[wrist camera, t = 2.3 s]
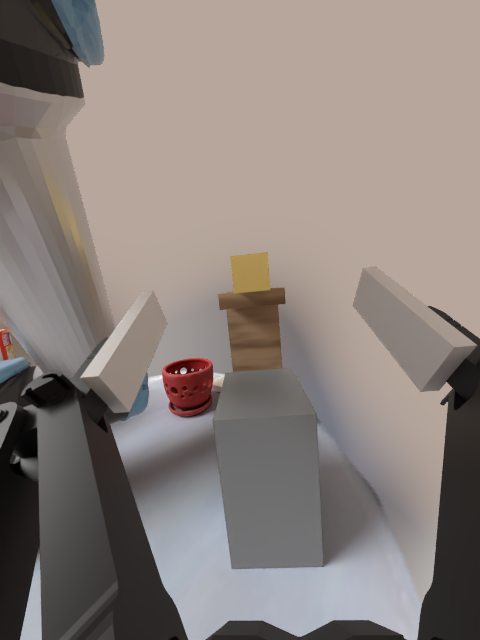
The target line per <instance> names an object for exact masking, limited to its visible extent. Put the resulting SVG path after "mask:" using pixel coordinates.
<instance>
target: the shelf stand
mask: <svg viewBox="0 0 480 640" xmlns="http://www.w3.org/2000/svg"><path fill="white" fill-rule="evenodd" d="M218 297H219V306H220V310H224V309H226V310H227V320H228V329H229V338H230V348H231V357H232V366H233V372H244V371H257V370H270V369H282V357H281V343H280V328H279V316H278V315H279V314H278V304H285V290H284V288H270V290H266V291H256V292H245V293H235V294H234V292H227V293H222V294H218Z"/></svg>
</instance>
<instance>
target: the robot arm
mask: <svg viewBox="0 0 480 640" xmlns="http://www.w3.org/2000/svg"><path fill="white" fill-rule="evenodd" d="M103 60H104V47H103V40H102V35H101V29H100V22H99V18H98V14H97V9H96V3H95V0H0V319H1V320H2V322H3V323H4V324H5V326H6V327H7V328H8V329H9V331H10V332H11V333H12V334H13V336H14V337H15V338H16V339H17V341H18V342H19V343H20V344H21V346H22V347H23V348H24V349H25V351H26V352H27V353H28V354H29V356H30V357H31V358H32V359H33V361H34V362H35V363H36V364H37V366H34V367H31V366H30V365H31V363H30V362H29V361H28V360H27V359H26V358H16V359H9V360H5V361H1V362H0V640H20V636H21V631H22V626H23V621H24V617H25V612H26V607H27V602H28V597H29V592H30V587H31V582H32V577H33V572H34V567H35V562H36V557H37V552H38V547H39V542H40V570H41V616H42V640H188V638H187V635H186V633H185V630H184V627H183V624H182V621H181V618H180V615H179V613H178V610H177V608H176V606H175V604H174V602H173V600H172V598H171V597H170V595H169V594H168V593H167V591H166V590H165V588H164V586H163V584H162V581H161V578H160V575H159V572H158V569H157V566H156V563H155V560H154V557H153V554H152V551H151V548H150V545H149V542H148V539H147V536H146V533H145V530H144V527H143V524H142V521H141V518H140V514H139V511H138V508H137V505H136V502H135V499H134V496H133V493H132V490H131V487H130V484H129V481H128V478H127V475H126V472H125V469H124V466H123V463H122V460H121V457H120V454H119V451H118V448H117V445H116V442H115V439H114V436H113V433H112V429H111V426H110V424H112V423H115V422H118V421H124V420H127V419H128V418H130V417H132V416H134V415H137V414H139V413H141V412H143V411H144V410H145V408H146V407H147V404H148V396H149V389H148V374H147V370H148V368H149V366H150V363H151V361H152V358H153V356H154V354H155V352H156V349H157V347H158V344H159V342H160V340H161V337H162V335H163V333H164V330H165V328H166V325H167V321H166V319H165V316H164V314H163V312H162V309H161V307H160V305H159V303H158V301H157V298H156V296H155V293H154V291H144V292H142V293H141V294H140V295H139V297H138V298H137V299H136V301H135V302H134V303H133V305H132V306H131V308H130V309H129V310H128V312H127V313H126V315H125V316H124V318H123V319H122V320H121V322H120V323H119V324H118V326H117V327H115V323H114V319H113V315H112V312H111V308H110V304H109V300H108V296H107V293H106V289H105V285H104V281H103V277H102V274H101V270H100V266H99V262H98V259H97V255H96V251H95V247H94V243H93V240H92V236H91V232H90V228H89V225H88V221H87V217H86V213H85V209H84V206H83V202H82V198H81V194H80V190H79V187H78V183H77V179H76V175H75V171H74V168H73V164H72V160H71V156H70V152H69V148H68V145H67V141H66V127H67V125H68V124H69V123H70V122H71V121H72V120H73V118H74V117H75V116H76V115H77V113H78V112H79V111H80V110H81V109H82V108H83V106H84V105H85V100H84V94H83V89H82V84H81V79H80V74H79V69H78V61H81V62H83V63H84V64H85V65H87V66H88V67H90V65H100V64H102V62H103ZM353 307H354V308H355V309H356V310H357V312H358V313H359V314H360V315H361V317H362V318H363V319H364V320H365V322H366V323H367V324H368V325H369V327H370V328H371V329H372V331H373V332H374V333H375V335H376V336H377V337H378V338H379V340H380V341H381V342H382V343H383V345H384V346H385V347H386V348H387V350H388V351H389V352H390V354H391V355H392V356H393V357H394V359H395V360H396V361H397V362H398V364H399V365H400V366H401V368H402V369H403V370H404V371H405V373H406V374H407V375H408V376H409V378H410V379H411V380H412V381H413V383H414V384H415V385H416V387H417V388H418V389H419V390H420V391H421V392H423V391H437V390H440V389H441V388H442V386H443V385H444V384H445V383H446V382H448V384H449V385H450V386H451V387H452V388H453V389H452V390H451V391H450V392H449V393H448V395H447V396H446V397H445V398H444V399H443V400H442V401H441V403H440V404H441V405H444V404H445V403H446V402H448V413H447V424H446V436H445V447H444V459H443V471H442V482H441V494H440V506H439V517H438V529H437V540H436V552H435V564H434V575H433V582H432V585H431V587H430V589H429V591H428V592H427V594H426V595H425V597H424V600H423V603H422V608H421V614H420V622H419V632H418V640H480V339H479V338H478V337H477V336H475V335H474V334H472V333H471V332H470V331H468V330H467V329H466V328H464V327H463V326H462V327H461V325H460V324H459V323H458V322H456V321H455V320H453V319H452V318H451V317H450V316H448V315H447V314H446V313H444V312H442V311H440V310H438V309H436V308H434V307H431V306H426V305H425V304H424V303H422V302H421V301H420V300H418V299H417V298H416V297H415V296H413V295H412V294H411V293H409V292H408V291H407V290H405V289H404V288H403V287H402V286H400V285H399V284H398V283H396V282H395V281H394V280H392V279H391V278H390V277H389V276H387V275H386V274H385V273H384V272H382V271H381V270H379V269H378V268H377V267H369V268H363V270H362V274H361V278H360V281H359V285H358V288H357V292H356V296H355V300H354V303H353ZM206 640H406V639H404V637H403V635H401V634H399V633H397V632H394V631H392V630H390V629H387V628H385V627H383V626H381V625H378V624H376V623H374V622H371V621H369V620H333V621H331V622H330V623H328V624H326V625H324V626H322V627H320V628H318V629H316V630H314V631H312V632H310V633H308V634H306V635H304V636H302V637H297V636H295V635H292V634H290V633H288V632H286V631H284V630H282V629H279V628H277V627H275V626H273V625H271V624H268V623H266V622H264V621H228V622H227V623H226V624H225V625H224V626H223V627H221V628H220V629H219V630H218V631H216V632H215V633H213V634H212V635H211V636H210V637H208V638H207V639H206Z"/></svg>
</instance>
